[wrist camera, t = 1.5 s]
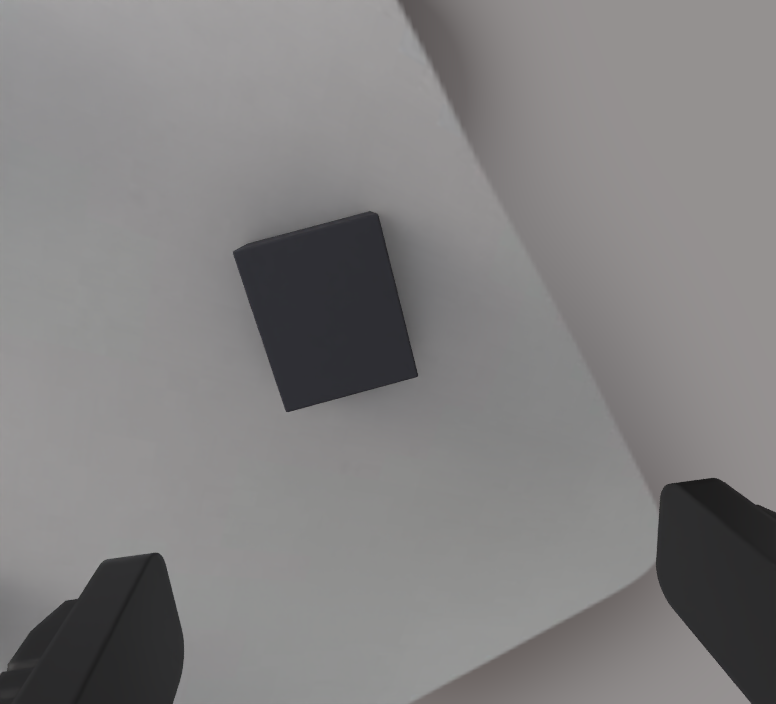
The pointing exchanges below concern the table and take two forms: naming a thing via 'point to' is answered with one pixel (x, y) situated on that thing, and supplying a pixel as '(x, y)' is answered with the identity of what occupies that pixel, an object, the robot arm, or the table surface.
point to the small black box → (327, 310)
